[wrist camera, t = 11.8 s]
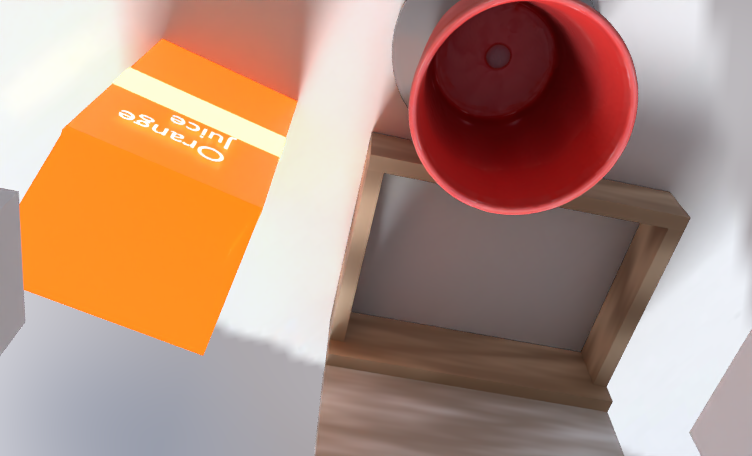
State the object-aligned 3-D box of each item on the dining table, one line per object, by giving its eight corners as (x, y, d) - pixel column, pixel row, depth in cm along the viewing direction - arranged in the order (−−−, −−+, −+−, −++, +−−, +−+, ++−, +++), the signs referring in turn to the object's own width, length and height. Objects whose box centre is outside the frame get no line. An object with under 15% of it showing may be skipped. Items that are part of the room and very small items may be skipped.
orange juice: (253, 200, 46) (174, 421, 29) (124, 145, 44) (-45, 346, 27) (299, 98, 42) (242, 280, 25) (161, 34, 41) (-5, 182, 23)
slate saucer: (418, -80, 37) (419, -79, 37) (627, -32, 38) (631, -30, 38) (373, 124, 43) (373, 128, 43) (556, 161, 44) (558, 165, 44)
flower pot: (583, -61, 37) (642, -31, 29) (588, 128, 42) (638, 200, 34) (389, -26, 38) (391, 13, 30) (417, 154, 43) (425, 230, 35)
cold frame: (371, 132, 43) (363, 329, 26) (669, 192, 45) (848, 414, 28) (325, 343, 52) (295, 599, 34) (578, 386, 54) (671, 650, 36)
